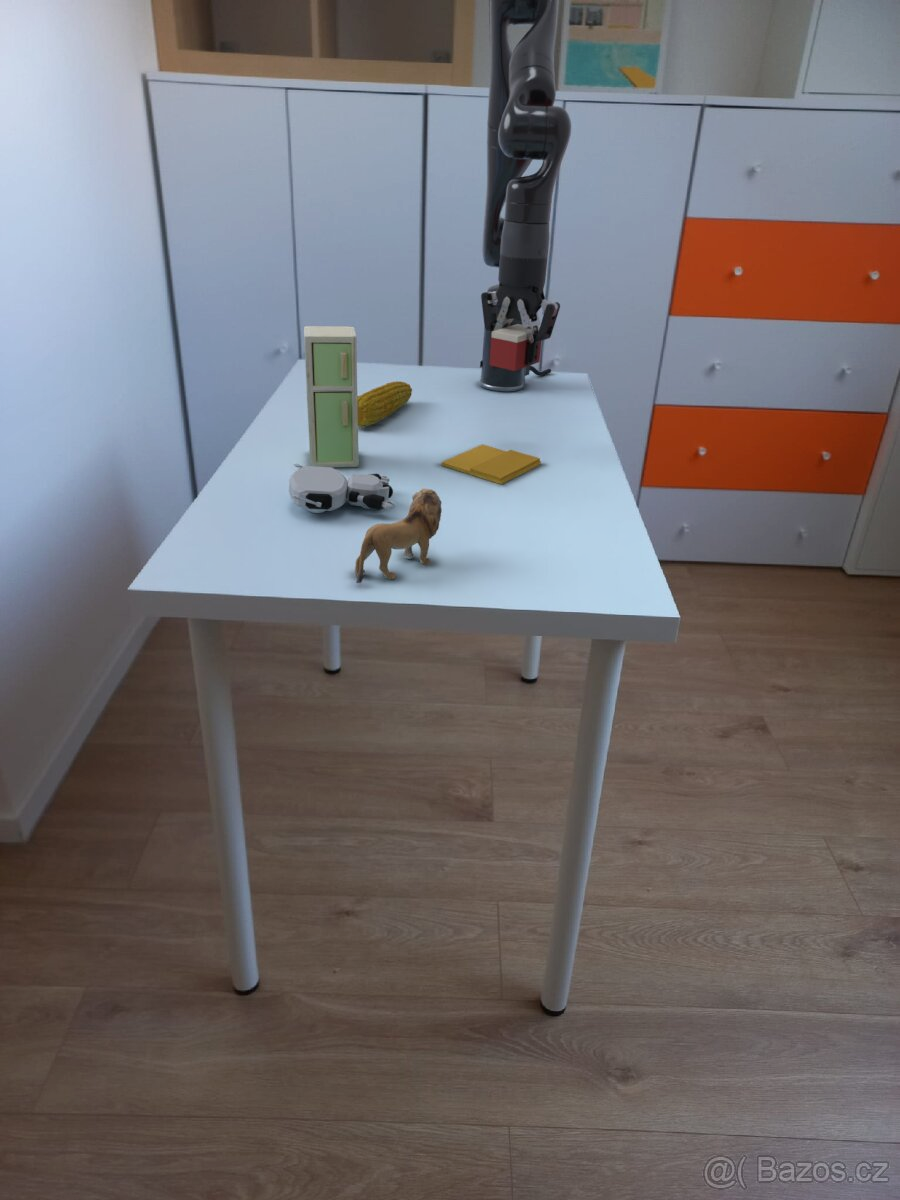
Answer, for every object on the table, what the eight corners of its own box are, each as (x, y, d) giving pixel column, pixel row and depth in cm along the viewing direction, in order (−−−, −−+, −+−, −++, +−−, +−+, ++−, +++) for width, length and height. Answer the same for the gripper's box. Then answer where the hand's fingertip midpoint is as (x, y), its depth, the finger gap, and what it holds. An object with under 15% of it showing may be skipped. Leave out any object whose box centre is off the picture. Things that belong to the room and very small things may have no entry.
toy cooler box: (514, 356, 143) (517, 323, 140) (539, 362, 141) (543, 328, 138) (489, 365, 137) (491, 331, 135) (514, 371, 135) (517, 336, 132)
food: (372, 433, 149) (372, 401, 146) (344, 428, 151) (344, 396, 148) (417, 403, 167) (418, 373, 164) (391, 399, 168) (392, 369, 165)
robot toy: (388, 493, 128) (289, 487, 126) (390, 465, 126) (290, 459, 123) (394, 527, 118) (287, 521, 115) (397, 498, 116) (288, 491, 113)
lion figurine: (418, 542, 112) (420, 480, 108) (449, 554, 110) (453, 491, 105) (342, 580, 102) (341, 513, 98) (374, 595, 99) (374, 527, 95)
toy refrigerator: (309, 470, 133) (303, 336, 122) (308, 454, 139) (303, 325, 128) (359, 469, 134) (358, 337, 123) (356, 453, 140) (355, 326, 130)
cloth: (482, 447, 146) (482, 441, 145) (540, 464, 140) (541, 458, 139) (441, 465, 137) (441, 459, 137) (501, 484, 131) (502, 478, 131)
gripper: (575, 256, 129) (563, 365, 138) (498, 245, 136) (491, 349, 145) (552, 260, 124) (540, 374, 133) (473, 249, 131) (466, 357, 140)
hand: (514, 361), depth 139 cm, fingers closed on toy cooler box, 5 cm apart
